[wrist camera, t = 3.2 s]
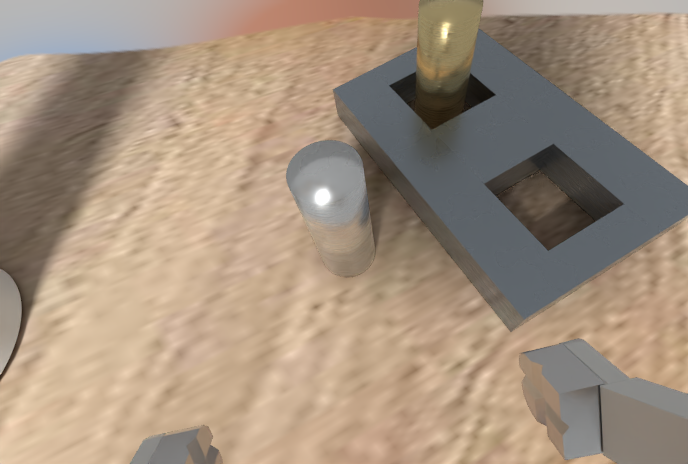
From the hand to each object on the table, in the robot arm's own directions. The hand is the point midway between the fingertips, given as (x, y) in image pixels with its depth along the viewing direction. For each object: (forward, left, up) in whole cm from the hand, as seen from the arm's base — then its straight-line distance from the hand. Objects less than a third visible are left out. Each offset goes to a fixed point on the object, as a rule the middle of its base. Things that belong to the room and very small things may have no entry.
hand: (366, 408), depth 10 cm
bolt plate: (+17, +12, -15) cm, 25 cm away
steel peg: (+4, +11, -15) cm, 19 cm away
